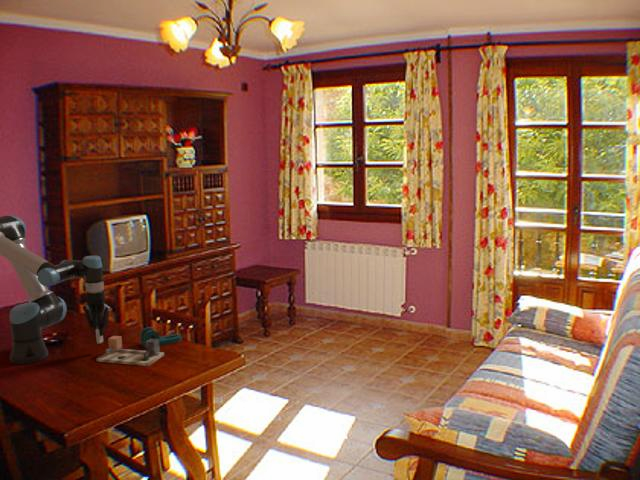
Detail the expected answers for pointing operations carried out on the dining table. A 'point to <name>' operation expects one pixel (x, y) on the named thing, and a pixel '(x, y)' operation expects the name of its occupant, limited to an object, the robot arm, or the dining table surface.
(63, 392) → the dining table surface
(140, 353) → the gauge board
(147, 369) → the dining table surface
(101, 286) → the robot arm
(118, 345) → the block
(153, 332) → the teal curved handle
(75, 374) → the dining table surface
